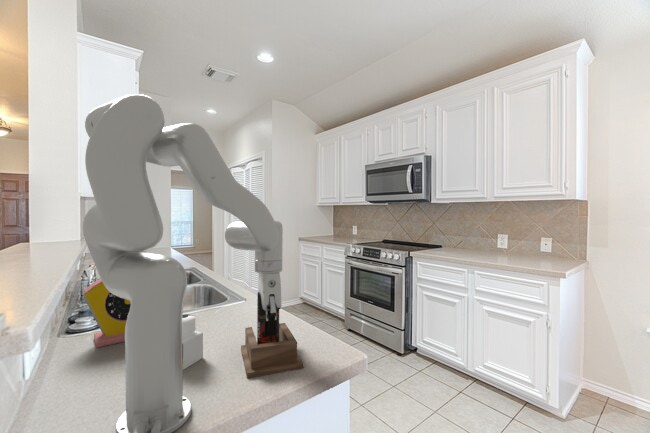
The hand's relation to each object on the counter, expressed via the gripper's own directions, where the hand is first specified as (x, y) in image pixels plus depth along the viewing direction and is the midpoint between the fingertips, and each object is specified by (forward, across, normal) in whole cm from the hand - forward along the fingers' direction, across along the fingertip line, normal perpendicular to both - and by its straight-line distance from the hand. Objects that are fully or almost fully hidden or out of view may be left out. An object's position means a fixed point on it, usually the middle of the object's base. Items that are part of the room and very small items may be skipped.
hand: (268, 330), depth 85 cm
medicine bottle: (+7, +4, +22) cm, 23 cm away
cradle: (+7, -2, 0) cm, 7 cm away
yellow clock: (+7, +28, +40) cm, 49 cm away
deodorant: (+5, 0, 0) cm, 5 cm away
